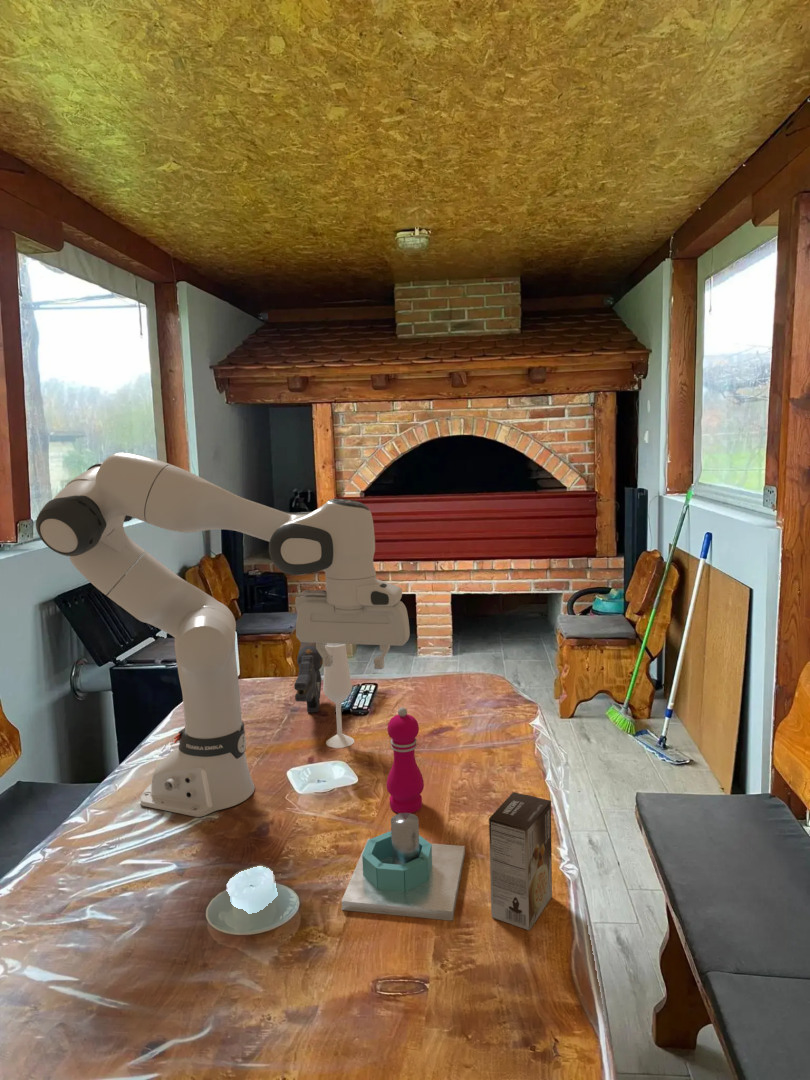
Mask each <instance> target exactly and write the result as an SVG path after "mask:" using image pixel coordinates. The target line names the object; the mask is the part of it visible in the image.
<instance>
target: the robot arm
mask: <svg viewBox="0 0 810 1080" xmlns="http://www.w3.org/2000/svg"><path fill="white" fill-rule="evenodd" d="M370 510H371V509H370V508H369V507H368V505H366V504H364V503H363V502H360V501H356V500H354V499H353V500H352V499H346V498H333V499H329V500H327V501H326V502H325V503H324V504H322V505H321V506H320V507H318V508H317V509H315V510H313V511H300V512H289V511H286V510H285V511H284V510H280V509H278V508H275V507H272V506H269V505H267V504H263V503H260V502H257V501H254V500H251V499H249V498H247V497H244V496H240V495H238V494H235V493H232V492H231V491H229V490H227V489H224V488H223V487H220V486H219V485H216V484H214V483H213V482H210V481H208V480H206V479H205V478H203V477H201V476H198V475H197V474H195V473H192V472H190V471H189V470H186V469H184V468H181V467H179V466H176V465H173V464H171V463H168V462H166V461H162V460H159V459H156V458H152V457H148V456H144V455H140V454H135V453H129V452H116V453H113V454H111V455H109V456H108V457H106V458H105V459H104V460H103V461H100V462H98V463H95V464H94V465H91V466H89V468H87V470H86V471H84V472H82V473H81V474H79V475H77V476H76V477H73V479H71V480H70V481H69V482H67V484H66V485H65V486H64V488H62V489H61V490H60V491H59V492H58V493H57V494H56V495H55V496H54V497H53V498H52V499H51V500H49V501H47V502H46V504H44V506H43V507H42V508H41V510H40V512H39V513H38V515H37V517H36V520H35V528H36V531H37V534H38V536H39V538H40V539H41V541H42V542H43V544H45V546H47V547H48V549H50V550H51V551H53V552H55V553H57V554H59V555H62V556H65V557H69V559H70V562H71V564H72V565H73V566H74V567H75V568H76V570H77V571H79V573H80V574H81V575H82V576H83V577H84V578H85V579H86V580H87V581H88V582H90V583H91V584H92V585H93V586H94V588H96V589H97V590H98V591H100V592H101V593H102V594H104V595H105V596H106V597H108V598H109V600H111V601H113V602H114V603H116V604H117V606H119V607H121V608H122V609H124V610H125V611H126V612H127V613H129V614H130V615H131V616H132V617H134V618H135V619H136V620H138V621H140V622H142V623H146V624H148V625H150V626H153V627H155V628H158V629H159V630H161V631H163V632H165V633H166V634H169V635H170V636H172V637H173V638H174V651H175V652H174V653H175V658H176V659H175V660H176V666H177V674H178V678H179V679H178V680H179V683H180V689H181V694H182V703H183V715H184V727H183V728H182V729H180V730H179V731H178V734H177V735H176V736H174V738H173V740H174V741H173V742H174V744H176V743H177V742H179V744H178V747H176V748H174V749H173V750H172V751H171V752H169V754H167V755H166V757H164V758H163V759H162V760H161V761H160V762H159V763H158V764H157V765H156V767H155V769H154V771H153V773H152V778H151V783H150V784H149V785H148V786H147V787H146V788H145V790H143V792H142V794H141V796H140V805H141V806H143V807H147V808H152V809H157V810H162V811H166V812H172V813H176V814H182V815H186V816H190V817H196V818H201V817H204V816H207V815H208V814H211V813H214V812H216V811H220V810H225V809H228V808H231V807H234V806H237V805H239V804H241V803H243V802H244V801H246V800H247V799H249V798H250V797H251V796H252V795H253V794H254V791H255V784H254V782H253V778H252V776H251V773H250V769H249V766H248V762H247V761H248V759H247V756H246V755H247V754H246V750H247V749H246V747H247V745H246V743H247V740H246V739H247V738H246V730H245V724H244V721H242V719H243V718H242V708H241V707H242V706H241V705H242V704H241V693H240V684H239V683H240V682H239V675H238V664H237V655H236V654H237V652H236V631H237V622H236V618H235V616H234V614H233V612H232V610H230V608H229V607H228V606H227V605H225V604H224V603H223V602H220V601H218V600H217V599H216V598H214V597H213V596H211V595H210V594H208V593H206V592H205V591H204V590H202V589H200V588H199V587H197V586H196V585H194V584H192V583H190V582H189V581H187V580H185V579H183V578H182V577H181V576H179V575H178V574H177V573H175V572H174V571H173V570H171V569H170V568H168V566H166V565H165V564H163V563H162V562H160V561H159V560H158V559H157V558H156V557H154V555H152V554H150V553H149V552H148V551H147V550H145V549H144V548H143V547H141V546H140V545H139V544H137V543H136V542H135V541H133V540H132V539H131V538H130V537H129V536H128V534H126V531H125V528H124V527H125V526H124V523H127V522H130V521H131V520H132V519H133V518H134V519H136V520H139V521H141V522H144V523H147V524H150V525H151V526H154V527H157V528H160V529H165V530H169V531H174V532H180V533H188V534H189V533H190V534H191V533H197V532H204V531H212V530H213V531H214V530H227V531H236V532H238V533H242V534H245V535H248V536H251V537H254V538H257V539H260V540H263V541H266V542H268V555H269V557H270V559H271V561H272V563H273V565H274V566H275V567H276V568H277V569H278V570H279V571H280V572H282V573H284V574H286V575H290V576H304V575H306V574H307V575H308V574H311V573H312V574H313V573H317V572H321V571H324V573H325V575H324V576H325V590H310V589H309V590H308V589H306V590H305V589H304V590H302V592H299V593H298V594H297V595H296V597H295V601H294V602H295V609H296V612H297V616H296V622H295V623H296V624H295V626H296V627H295V637H296V639H297V640H298V641H299V642H300V643H301V642H309V643H316V649H317V651H318V652H319V654H320V655H321V657H322V658H323V664H322V667H323V668H324V667H332V666H333V655H329V654H328V652H327V650H326V648H325V646H326V645H327V643H337V644H346V645H363V646H365V645H369V646H379V650H380V651H381V655H380V656H375V658H374V660H373V663H374V665H373V669H375V670H383V669H384V668H385V657H386V656H387V654H388V653H389V650H390V649H391V646H395V647H397V646H398V647H402V646H404V645H405V644H407V642H408V641H409V638H410V635H411V634H410V633H411V632H410V622H409V615H408V610H407V607H406V605H405V604H404V603H403V601H401V599H402V596H403V589H402V587H400V586H398V585H395V584H392V583H389V582H386V581H383V580H381V579H378V578H377V574H376V568H375V566H374V555H375V553H376V537H375V526H374V519H373V515H372V512H371V511H370Z"/></svg>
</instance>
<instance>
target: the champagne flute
mask: <svg viewBox="0 0 810 1080" xmlns="http://www.w3.org/2000/svg"><path fill="white" fill-rule="evenodd" d="M325 648H326V650H327V652H328V654H329V655H333V666H332V667H323V684H322V685H323V687H322V690H323V693H324V696H325V697H326V698H328V699H329V700H330V701H331V702H332V703H334V704H335V712H336V716H335V717H336V734H335V735H333V736H332V737H330V738H328V739H327V740H326V742H325V744H326V746H327V747H330V748H334V749H342V748H343V749H344V748H346V747H350V746H352V745H353V744H354V743H355V739H354V738H353V737H351V736H349V735H347V734H344V733H343V724H342V723H343V722H342V703H343V702H345V700H346V699H348V697H349V695H350V694H351V692H352V690H353V687H352V679H351V673H350V665H349V660H348V659H349V658H348V652H347V644H337V643H327V645H326V646H325Z"/></svg>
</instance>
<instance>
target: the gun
mask: <svg viewBox="0 0 810 1080" xmlns="http://www.w3.org/2000/svg"><path fill="white" fill-rule="evenodd" d="M300 643H301V644H300V647H299V650H298V655H297V656H296V657H297V658H296V664H297V667H298V676H297V678H296V680H295V683H294V690H295V691H296V693H295V696H294V700H295V702H296V703H297V702H298V703H299V702H304V703H305V702H306V712H307V713H308V714H315V713H318V711H319V710H320V704H321V703H320V702H321V700H320V699H321V693H322V692H321V689H322V688H321V687H322V679H323V678H322V675H321V671H320V669H321V668H322V667H323V658H322V657H321V655H320V654H319V652H318V651H317V649H316V643H309V642H300Z"/></svg>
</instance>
